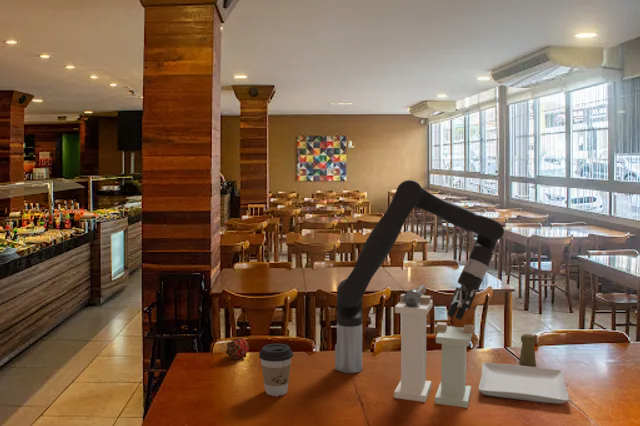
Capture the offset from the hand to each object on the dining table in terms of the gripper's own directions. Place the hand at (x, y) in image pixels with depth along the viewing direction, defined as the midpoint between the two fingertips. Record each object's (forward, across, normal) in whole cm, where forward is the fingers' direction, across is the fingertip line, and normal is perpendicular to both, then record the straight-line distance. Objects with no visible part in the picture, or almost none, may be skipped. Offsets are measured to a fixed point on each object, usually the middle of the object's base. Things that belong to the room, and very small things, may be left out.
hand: (453, 317), depth 194 cm
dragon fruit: (+50, -35, -60) cm, 86 cm away
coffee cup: (+48, 0, -44) cm, 65 cm away
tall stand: (+28, +4, -4) cm, 29 cm away
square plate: (+12, +4, +30) cm, 33 cm away
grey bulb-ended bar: (0, +4, -16) cm, 16 cm away
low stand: (+24, +9, +7) cm, 27 cm away
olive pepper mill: (+3, -19, +39) cm, 44 cm away
